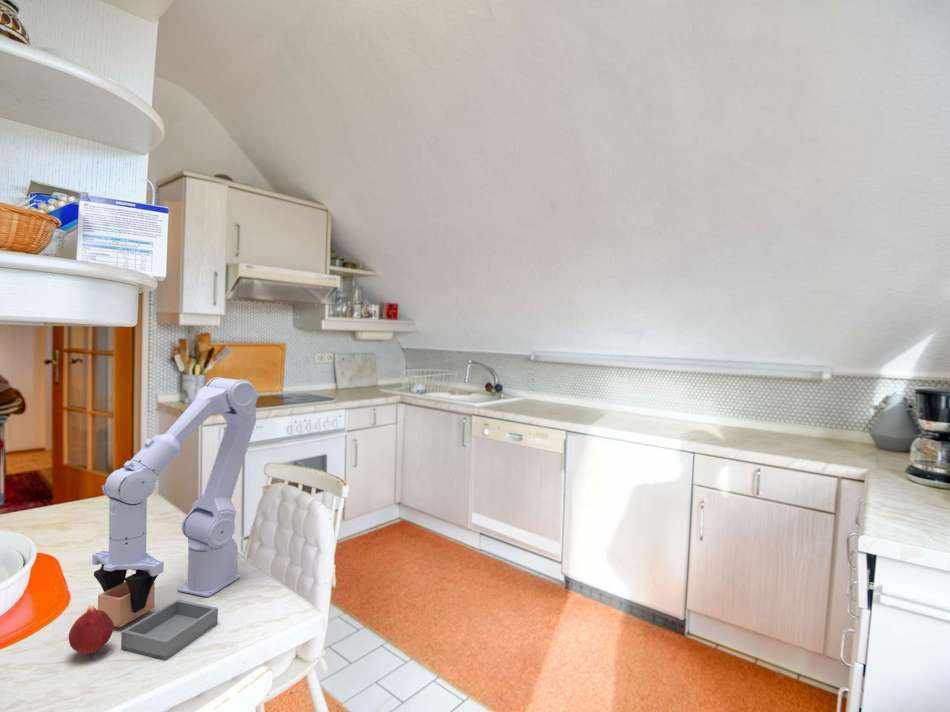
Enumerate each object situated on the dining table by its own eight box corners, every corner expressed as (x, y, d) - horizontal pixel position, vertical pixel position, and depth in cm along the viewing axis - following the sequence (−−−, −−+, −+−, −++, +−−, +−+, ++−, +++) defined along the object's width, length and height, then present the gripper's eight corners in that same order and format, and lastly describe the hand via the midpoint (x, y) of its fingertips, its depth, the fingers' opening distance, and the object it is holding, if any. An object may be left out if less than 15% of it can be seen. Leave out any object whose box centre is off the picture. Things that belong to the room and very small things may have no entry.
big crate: (177, 615, 95) (177, 599, 95) (217, 624, 92) (217, 607, 92) (121, 649, 84) (121, 631, 84) (165, 660, 81) (165, 642, 81)
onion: (120, 643, 85) (121, 597, 85) (96, 665, 80) (97, 615, 79) (85, 643, 85) (86, 596, 85) (58, 665, 79) (59, 615, 79)
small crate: (133, 603, 97) (133, 577, 97) (154, 607, 95) (154, 581, 95) (97, 622, 90) (98, 595, 90) (119, 627, 89) (119, 599, 88)
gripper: (75, 537, 90) (74, 611, 91) (139, 548, 86) (138, 625, 87) (113, 523, 97) (112, 592, 97) (173, 533, 93) (172, 605, 94)
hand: (126, 607), depth 93 cm, fingers closed on small crate, 5 cm apart
